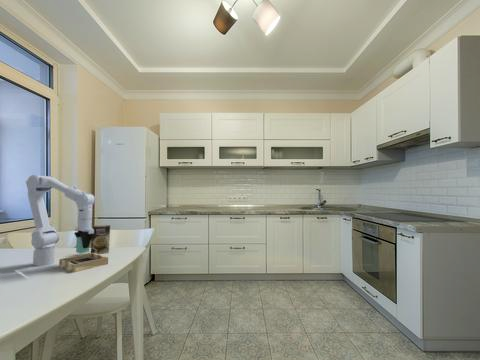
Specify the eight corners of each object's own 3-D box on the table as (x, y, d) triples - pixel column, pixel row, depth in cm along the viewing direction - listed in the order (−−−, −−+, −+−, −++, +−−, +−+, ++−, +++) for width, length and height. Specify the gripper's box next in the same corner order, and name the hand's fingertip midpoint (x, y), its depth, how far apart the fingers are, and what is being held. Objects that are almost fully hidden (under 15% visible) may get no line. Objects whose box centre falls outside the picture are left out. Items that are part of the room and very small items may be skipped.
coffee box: (90, 256, 131) (91, 227, 132) (91, 253, 137) (92, 225, 138) (109, 254, 136) (110, 226, 136) (109, 251, 141) (110, 224, 142)
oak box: (59, 267, 111) (59, 259, 111) (92, 260, 124) (93, 252, 124) (73, 274, 103) (73, 265, 103) (107, 265, 116) (108, 257, 116)
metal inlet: (70, 265, 112) (70, 260, 112) (89, 261, 119) (89, 256, 119) (78, 269, 108) (78, 263, 108) (97, 264, 115) (97, 259, 115)
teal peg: (76, 252, 112) (76, 237, 113) (85, 250, 116) (85, 236, 116) (79, 253, 110) (80, 238, 111) (89, 251, 114) (89, 236, 114)
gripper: (68, 218, 115) (67, 246, 114) (82, 220, 107) (81, 251, 106) (84, 217, 121) (83, 244, 120) (99, 219, 113) (97, 248, 112)
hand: (83, 247), depth 113 cm, fingers closed on teal peg, 4 cm apart
